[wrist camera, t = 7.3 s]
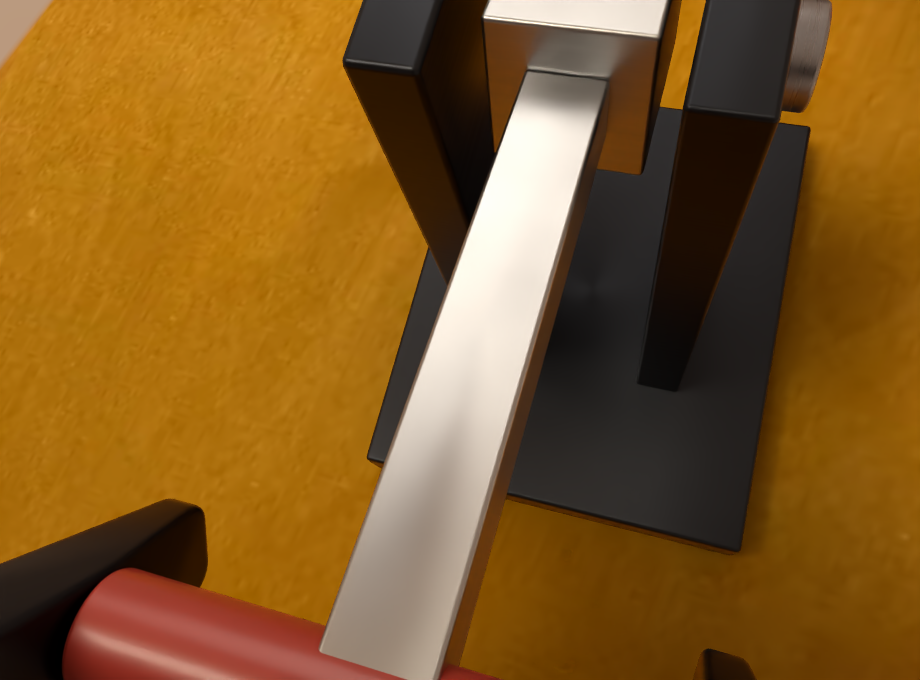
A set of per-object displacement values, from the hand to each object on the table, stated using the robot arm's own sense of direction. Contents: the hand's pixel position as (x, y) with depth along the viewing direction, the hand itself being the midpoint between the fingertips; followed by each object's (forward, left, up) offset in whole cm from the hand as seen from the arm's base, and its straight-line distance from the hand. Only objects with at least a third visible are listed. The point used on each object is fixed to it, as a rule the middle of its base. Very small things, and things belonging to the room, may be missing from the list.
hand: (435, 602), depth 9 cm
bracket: (+5, +6, -12) cm, 14 cm away
